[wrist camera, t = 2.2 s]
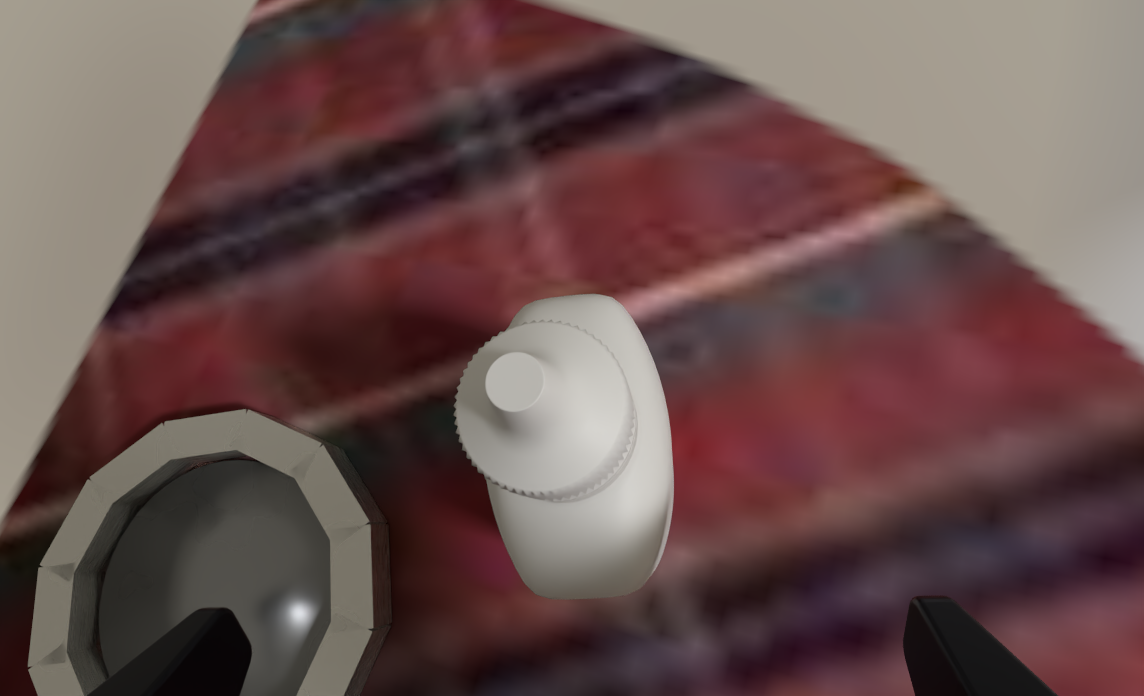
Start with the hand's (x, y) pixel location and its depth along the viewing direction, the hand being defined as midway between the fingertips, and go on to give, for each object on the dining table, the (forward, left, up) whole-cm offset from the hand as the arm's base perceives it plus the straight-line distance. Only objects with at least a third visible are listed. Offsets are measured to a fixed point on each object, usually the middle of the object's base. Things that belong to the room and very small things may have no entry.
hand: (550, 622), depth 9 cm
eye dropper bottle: (+3, 0, -10) cm, 11 cm away
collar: (+1, +12, -10) cm, 15 cm away
